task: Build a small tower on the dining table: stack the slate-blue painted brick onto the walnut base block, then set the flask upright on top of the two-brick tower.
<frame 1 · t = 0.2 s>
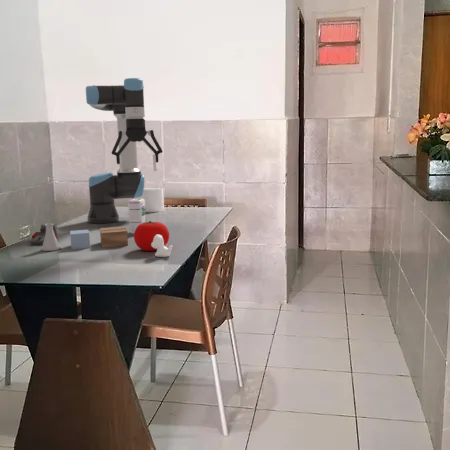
hand: (138, 171, 226), 28 cm above the table, fingers open, 13 cm apart
flask: (51, 250, 215), on the table
figurine: (162, 256, 199), on the table
tomato: (152, 250, 210), on the table
syrup box: (138, 232, 244), on the table
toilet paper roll: (153, 210, 304), on the table
base block: (114, 244, 222), on the table
toy: (45, 242, 230), on the table
blue brick: (80, 246, 219), on the table
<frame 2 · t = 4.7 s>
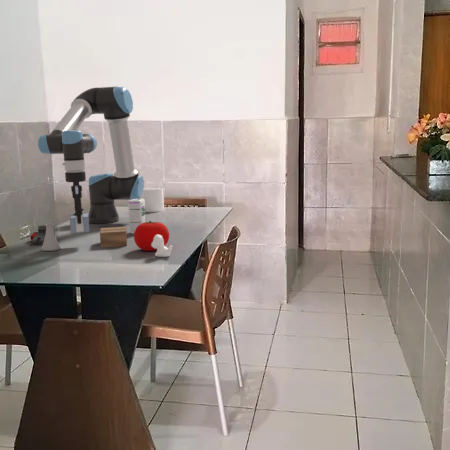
hand: (79, 229, 218), 7 cm above the table, fingers closed on blue brick, 7 cm apart
blue brick: (80, 230, 218), point 6 cm above the table, touching gripper
when the fingers open (6 cm above the table, at t = 8.0 s): blue brick stays where it is, resting on base block.
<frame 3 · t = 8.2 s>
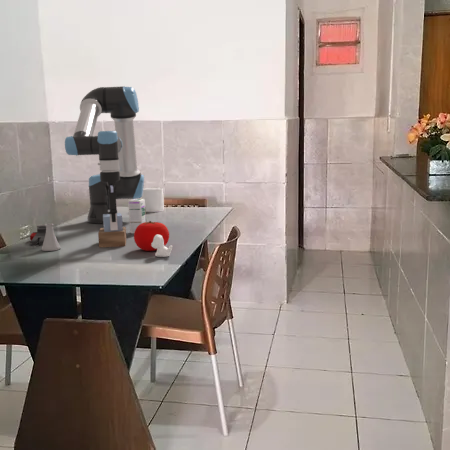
hand: (113, 227, 221), 7 cm above the table, fingers open, 9 cm apart
base block: (113, 244, 222), on the table, touching blue brick
blue brick: (113, 229, 221), point 6 cm above the table, touching base block
everything else where it was.
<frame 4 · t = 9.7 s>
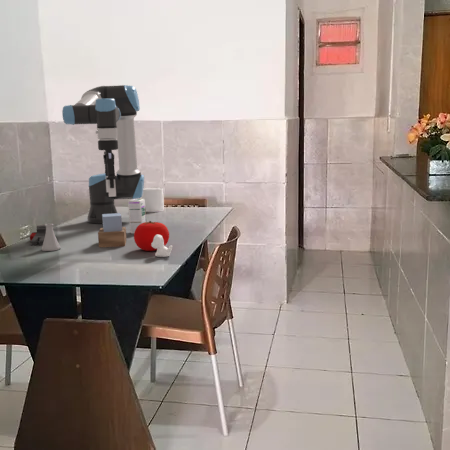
hand: (111, 194, 218), 20 cm above the table, fingers open, 13 cm apart
nothing on the table moved.
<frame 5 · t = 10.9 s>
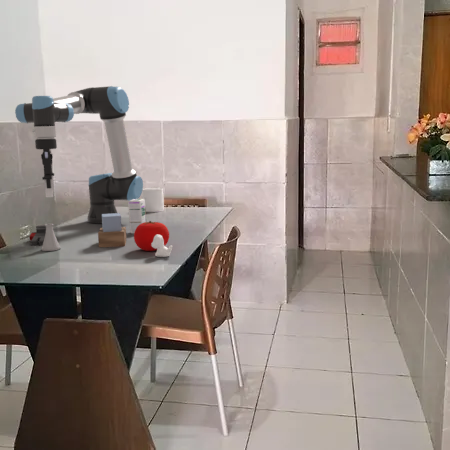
hand: (50, 195, 211), 21 cm above the table, fingers open, 13 cm apart
base block: (113, 244, 222), on the table
blue brick: (112, 229, 220), point 6 cm above the table
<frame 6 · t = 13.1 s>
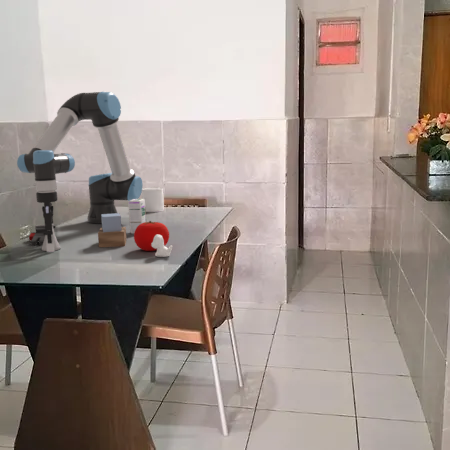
hand: (51, 248, 215), 0 cm above the table, fingers open, 10 cm apart
base block: (113, 244, 222), on the table, touching blue brick
blue brick: (111, 230, 220), point 6 cm above the table, touching base block
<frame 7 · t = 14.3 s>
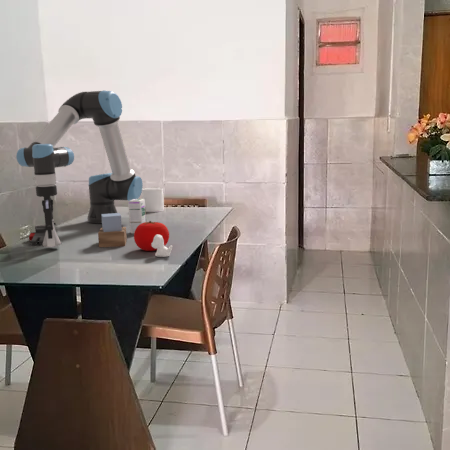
hand: (51, 244, 215), 2 cm above the table, fingers closed on flask, 7 cm apart
flask: (52, 245, 215), point 1 cm above the table, touching gripper
when the fingers open (13 cm above the table, at t = 19.1 s): flask drops 1 cm, resting on blue brick.
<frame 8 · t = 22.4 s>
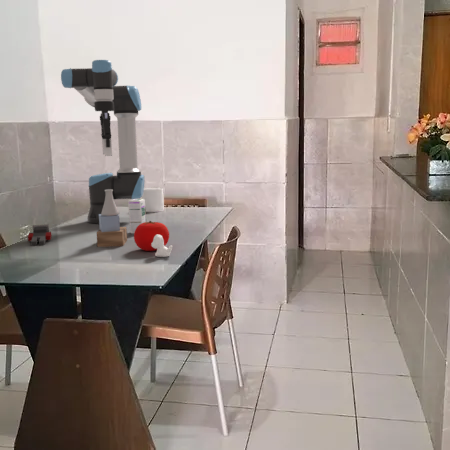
hand: (107, 155, 223), 35 cm above the table, fingers open, 13 cm apart
flask: (110, 215, 220), point 11 cm above the table, touching blue brick
blue brick: (109, 229, 221), point 6 cm above the table, touching base block, flask
at the end: blue brick 0.8 cm off-centre on the base block, point 6.0 cm above the base block's base; flask inside the target area on the base block (0.4 cm from its centre), point 11.8 cm above the base block's base; flask tilted 0° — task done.
